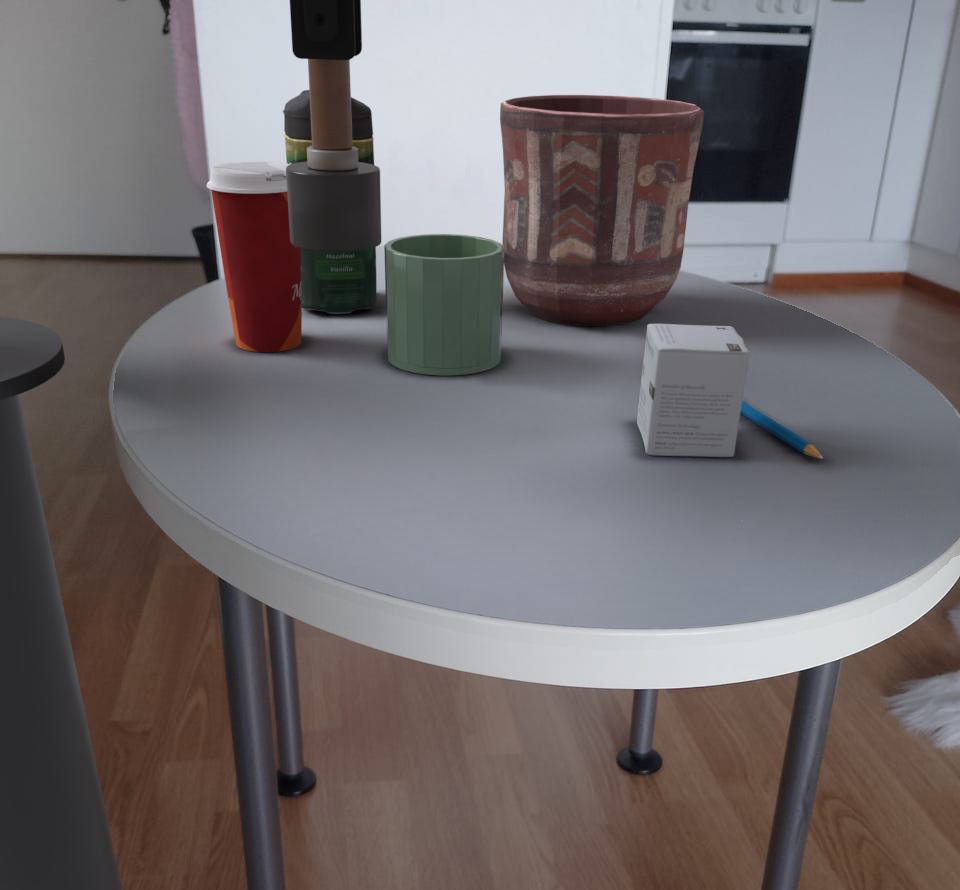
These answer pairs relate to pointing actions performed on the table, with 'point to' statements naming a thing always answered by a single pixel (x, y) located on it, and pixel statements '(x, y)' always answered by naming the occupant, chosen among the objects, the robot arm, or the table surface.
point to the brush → (333, 173)
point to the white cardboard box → (691, 390)
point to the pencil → (779, 430)
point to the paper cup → (258, 254)
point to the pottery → (595, 203)
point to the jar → (444, 303)
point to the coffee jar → (333, 275)
